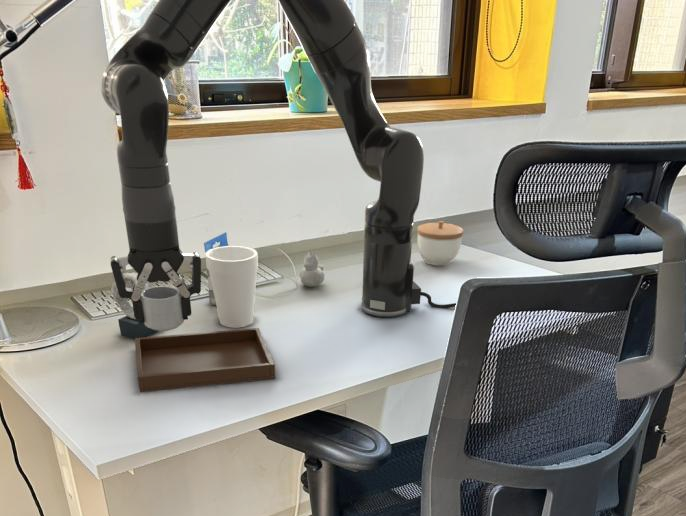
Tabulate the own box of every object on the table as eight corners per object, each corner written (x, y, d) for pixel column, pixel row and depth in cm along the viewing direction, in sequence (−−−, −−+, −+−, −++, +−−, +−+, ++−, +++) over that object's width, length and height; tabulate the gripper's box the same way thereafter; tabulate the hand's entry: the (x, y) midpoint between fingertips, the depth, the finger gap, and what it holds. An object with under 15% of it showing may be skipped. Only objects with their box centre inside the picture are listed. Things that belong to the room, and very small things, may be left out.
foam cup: (251, 333, 132) (247, 263, 124) (204, 327, 133) (197, 258, 126) (267, 314, 139) (264, 248, 132) (222, 309, 141) (216, 243, 133)
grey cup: (182, 316, 120) (178, 284, 117) (185, 330, 115) (181, 298, 112) (144, 319, 118) (139, 287, 115) (145, 334, 114) (140, 301, 110)
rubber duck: (293, 286, 153) (292, 249, 148) (311, 278, 158) (311, 242, 153) (313, 291, 151) (313, 254, 146) (331, 283, 155) (331, 246, 151)
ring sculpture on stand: (134, 323, 134) (125, 265, 127) (167, 332, 131) (159, 274, 124) (112, 333, 130) (101, 274, 123) (145, 343, 127) (136, 283, 120)
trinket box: (408, 256, 173) (411, 216, 167) (448, 253, 176) (452, 214, 170) (424, 270, 164) (428, 229, 159) (466, 267, 167) (471, 226, 162)
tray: (259, 341, 129) (258, 327, 127) (275, 378, 117) (274, 364, 115) (136, 351, 124) (134, 337, 122) (139, 392, 111) (137, 377, 110)
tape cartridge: (226, 307, 142) (221, 245, 135) (208, 304, 143) (202, 243, 136) (246, 293, 148) (243, 233, 141) (230, 291, 150) (225, 231, 142)
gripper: (99, 223, 102) (118, 331, 112) (200, 218, 106) (210, 324, 115) (100, 210, 108) (118, 314, 117) (196, 206, 112) (205, 308, 121)
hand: (164, 319), depth 116 cm, fingers closed on grey cup, 6 cm apart
